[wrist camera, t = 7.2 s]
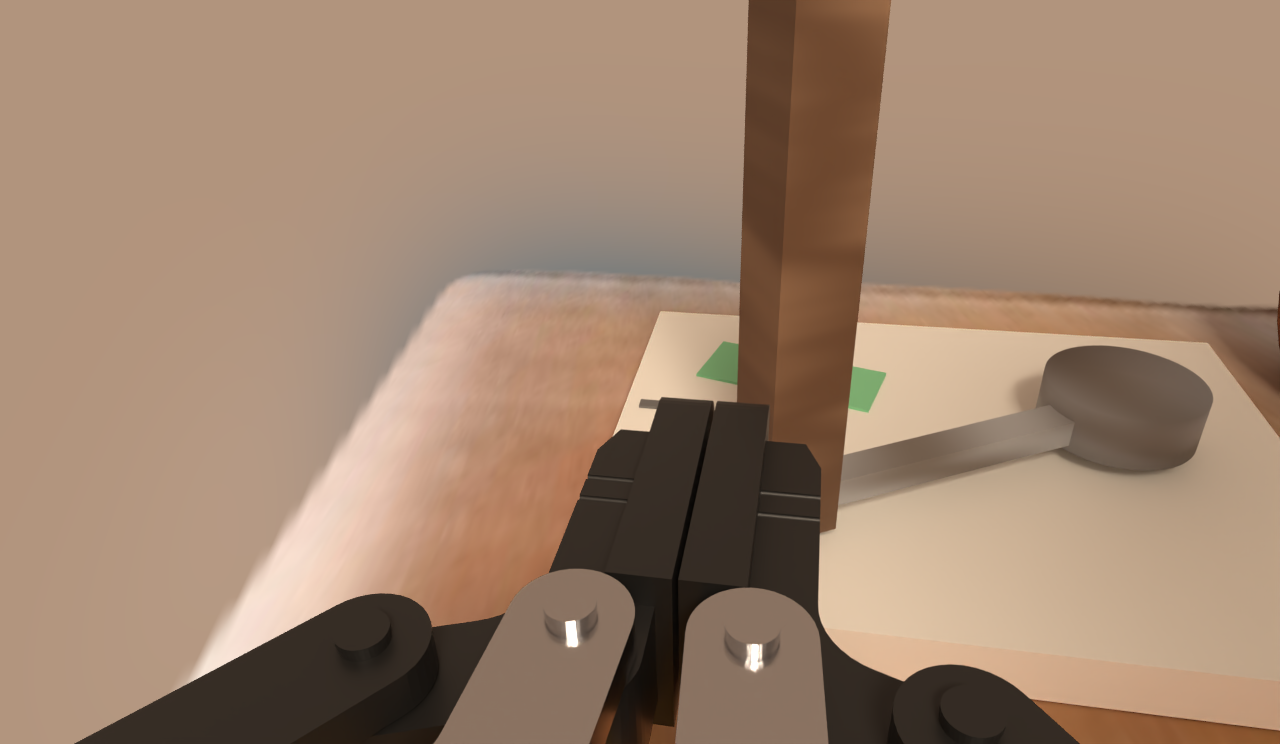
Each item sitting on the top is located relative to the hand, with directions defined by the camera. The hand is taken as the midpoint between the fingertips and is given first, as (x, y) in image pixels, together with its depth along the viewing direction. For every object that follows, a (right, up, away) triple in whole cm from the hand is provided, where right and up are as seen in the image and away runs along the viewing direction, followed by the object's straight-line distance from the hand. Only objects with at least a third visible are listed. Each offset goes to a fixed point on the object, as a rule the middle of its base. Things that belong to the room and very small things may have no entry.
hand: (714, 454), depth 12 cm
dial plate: (+8, -2, +15) cm, 18 cm away
